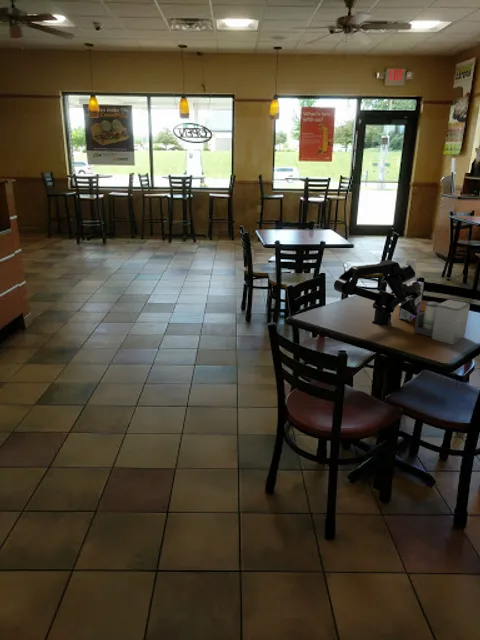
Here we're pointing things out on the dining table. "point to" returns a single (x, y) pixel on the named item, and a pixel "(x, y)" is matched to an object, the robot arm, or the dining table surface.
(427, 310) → the cup
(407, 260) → the champagne flute
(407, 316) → the candy box
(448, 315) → the caddy
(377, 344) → the dining table surface
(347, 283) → the robot arm
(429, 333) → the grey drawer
